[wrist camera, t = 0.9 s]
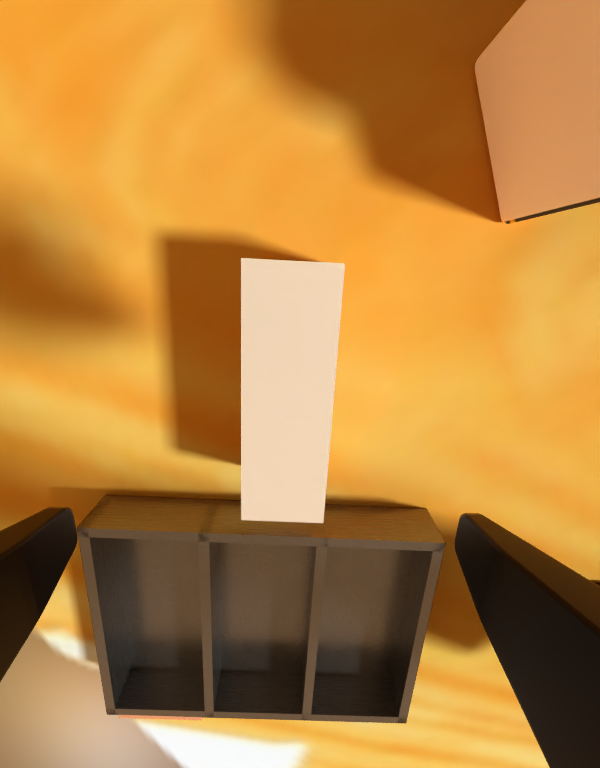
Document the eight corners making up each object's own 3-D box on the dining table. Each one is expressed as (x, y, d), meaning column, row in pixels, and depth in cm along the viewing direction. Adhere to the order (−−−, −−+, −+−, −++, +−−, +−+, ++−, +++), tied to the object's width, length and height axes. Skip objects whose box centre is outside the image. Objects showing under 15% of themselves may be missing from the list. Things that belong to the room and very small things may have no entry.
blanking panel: (332, 266, 18) (344, 263, 14) (317, 469, 22) (323, 523, 17) (255, 262, 18) (241, 257, 13) (253, 466, 22) (241, 519, 17)
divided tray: (426, 508, 23) (445, 542, 20) (393, 678, 27) (405, 726, 24) (105, 494, 22) (76, 527, 19) (127, 669, 27) (107, 717, 24)
